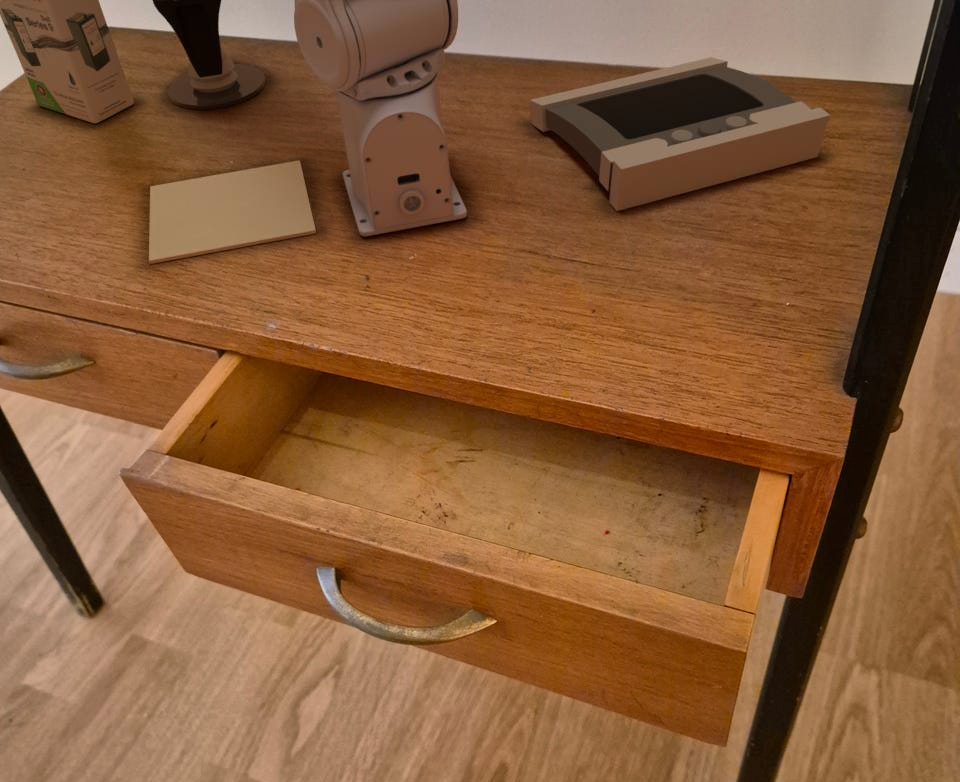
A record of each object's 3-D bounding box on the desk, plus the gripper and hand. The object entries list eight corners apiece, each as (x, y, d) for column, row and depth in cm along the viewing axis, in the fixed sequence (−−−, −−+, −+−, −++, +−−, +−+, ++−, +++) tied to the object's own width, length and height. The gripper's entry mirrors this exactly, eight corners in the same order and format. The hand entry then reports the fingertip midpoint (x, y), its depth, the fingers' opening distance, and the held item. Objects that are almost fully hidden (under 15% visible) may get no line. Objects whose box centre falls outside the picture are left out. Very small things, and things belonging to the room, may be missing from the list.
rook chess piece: (228, 95, 80) (202, 1, 74) (183, 93, 81) (154, 0, 75) (246, 74, 83) (223, -18, 77) (202, 73, 84) (176, -19, 78)
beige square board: (316, 233, 64) (315, 229, 64) (150, 264, 62) (148, 260, 62) (300, 163, 71) (299, 160, 71) (151, 189, 70) (150, 186, 70)
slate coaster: (269, 100, 80) (268, 95, 79) (169, 116, 79) (167, 112, 78) (261, 61, 86) (260, 57, 85) (168, 76, 85) (167, 72, 84)
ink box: (35, 106, 82) (-26, -34, 73) (77, 85, 84) (23, -52, 76) (95, 125, 78) (39, -19, 70) (138, 103, 81) (88, -39, 72)
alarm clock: (621, 169, 61) (528, 64, 70) (615, 225, 65) (527, 119, 74) (830, 115, 64) (714, 22, 74) (813, 171, 68) (704, 76, 78)
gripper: (113, -132, 74) (164, 35, 84) (105, -85, 65) (165, 97, 75) (196, -143, 75) (238, 24, 85) (201, -98, 66) (247, 84, 76)
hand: (209, 57), depth 80 cm, fingers open, 7 cm apart
